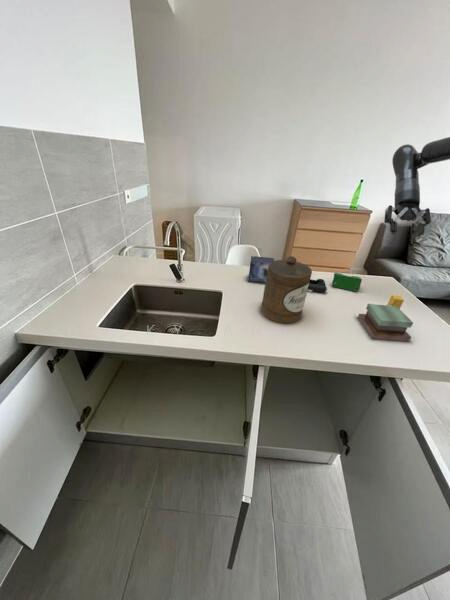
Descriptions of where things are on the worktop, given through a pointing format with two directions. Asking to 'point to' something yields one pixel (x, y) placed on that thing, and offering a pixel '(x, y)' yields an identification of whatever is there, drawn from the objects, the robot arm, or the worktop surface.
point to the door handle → (317, 285)
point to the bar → (395, 301)
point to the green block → (346, 282)
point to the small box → (259, 269)
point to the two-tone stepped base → (386, 323)
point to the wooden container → (285, 290)
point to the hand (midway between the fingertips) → (407, 234)
